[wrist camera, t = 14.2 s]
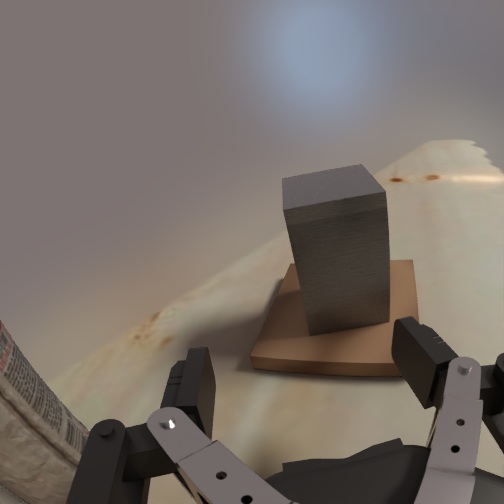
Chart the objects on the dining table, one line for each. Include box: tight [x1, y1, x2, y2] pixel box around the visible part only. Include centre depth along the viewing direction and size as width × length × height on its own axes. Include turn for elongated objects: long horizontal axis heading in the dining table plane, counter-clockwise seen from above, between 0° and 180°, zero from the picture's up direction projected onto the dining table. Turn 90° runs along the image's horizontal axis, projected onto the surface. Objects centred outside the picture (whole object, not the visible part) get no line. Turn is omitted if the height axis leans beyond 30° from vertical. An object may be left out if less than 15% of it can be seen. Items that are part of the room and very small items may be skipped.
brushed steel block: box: [282, 164, 390, 336], centre depth 22 cm, size 6×6×10 cm
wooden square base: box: [250, 260, 419, 376], centre depth 23 cm, size 12×12×8 cm
